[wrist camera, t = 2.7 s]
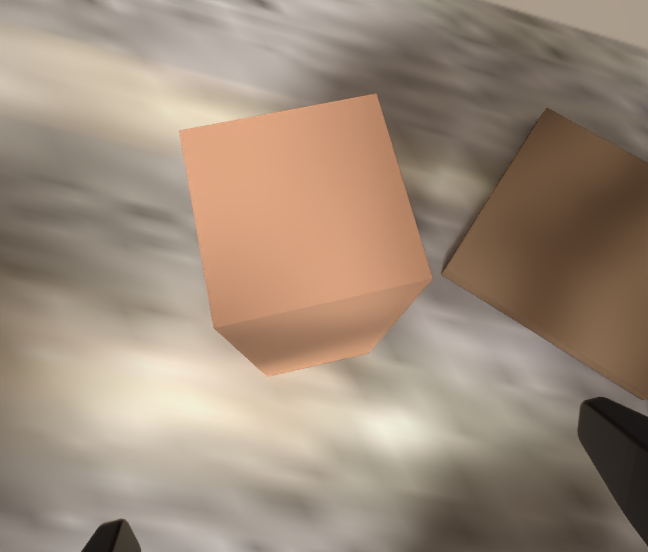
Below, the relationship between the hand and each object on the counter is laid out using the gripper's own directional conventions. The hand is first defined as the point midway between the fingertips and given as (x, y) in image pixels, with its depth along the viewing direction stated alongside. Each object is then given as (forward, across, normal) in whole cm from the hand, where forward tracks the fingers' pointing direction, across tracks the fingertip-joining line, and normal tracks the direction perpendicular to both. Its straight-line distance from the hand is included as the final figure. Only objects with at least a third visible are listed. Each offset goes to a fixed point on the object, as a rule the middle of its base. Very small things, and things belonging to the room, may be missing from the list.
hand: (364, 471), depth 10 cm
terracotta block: (+12, 0, +4) cm, 13 cm away
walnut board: (+12, -14, +4) cm, 19 cm away
